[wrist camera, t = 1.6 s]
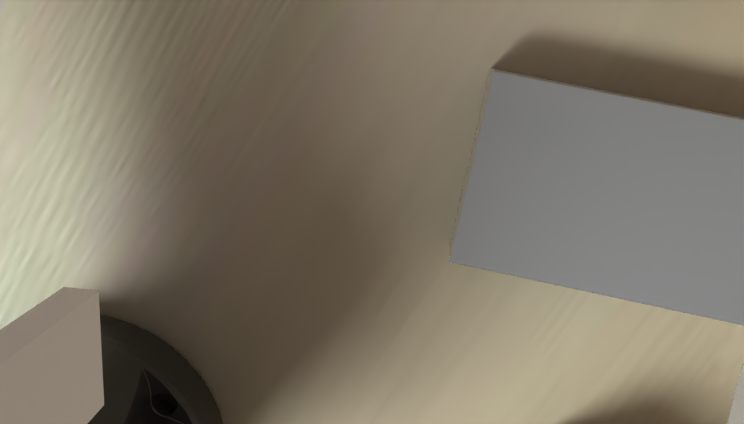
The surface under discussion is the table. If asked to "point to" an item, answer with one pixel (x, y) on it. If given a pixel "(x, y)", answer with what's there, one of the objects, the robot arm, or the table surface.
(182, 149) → the table surface
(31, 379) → the robot arm
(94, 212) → the table surface
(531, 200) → the gray block
